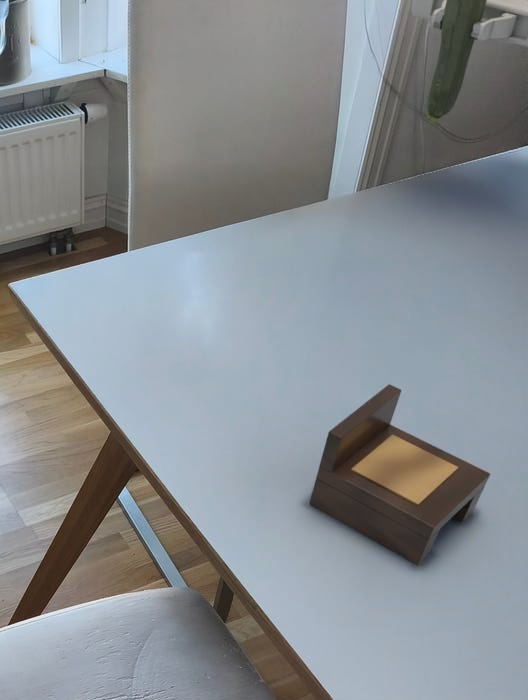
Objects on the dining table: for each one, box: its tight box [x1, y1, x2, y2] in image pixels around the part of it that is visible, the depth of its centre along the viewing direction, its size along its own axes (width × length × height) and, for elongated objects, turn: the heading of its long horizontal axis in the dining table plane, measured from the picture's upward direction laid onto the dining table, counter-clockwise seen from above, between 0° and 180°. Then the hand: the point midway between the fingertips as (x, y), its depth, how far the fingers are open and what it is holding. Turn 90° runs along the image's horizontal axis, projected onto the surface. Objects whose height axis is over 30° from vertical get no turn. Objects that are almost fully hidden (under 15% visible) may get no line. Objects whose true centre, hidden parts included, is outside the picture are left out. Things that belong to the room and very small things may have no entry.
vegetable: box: [426, 0, 487, 124], centre depth 106 cm, size 4×4×20 cm
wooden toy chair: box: [308, 383, 491, 566], centre depth 82 cm, size 12×10×9 cm
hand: (456, 26), depth 105 cm, fingers closed on vegetable, 4 cm apart
